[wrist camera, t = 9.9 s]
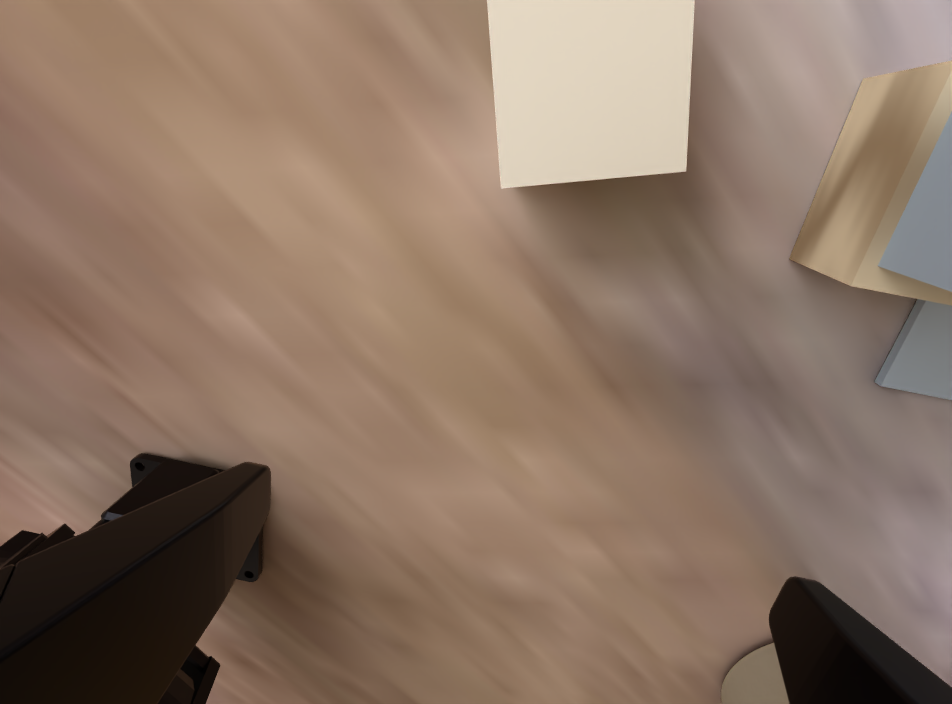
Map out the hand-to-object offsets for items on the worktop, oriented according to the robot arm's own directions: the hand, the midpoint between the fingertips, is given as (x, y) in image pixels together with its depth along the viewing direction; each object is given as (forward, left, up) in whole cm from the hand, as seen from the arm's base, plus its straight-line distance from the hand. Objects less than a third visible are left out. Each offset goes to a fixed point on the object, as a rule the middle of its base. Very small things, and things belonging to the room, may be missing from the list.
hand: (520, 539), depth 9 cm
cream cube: (+8, 0, -13) cm, 15 cm away
